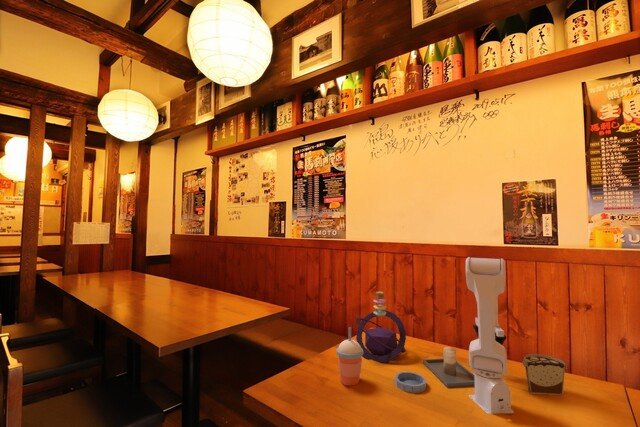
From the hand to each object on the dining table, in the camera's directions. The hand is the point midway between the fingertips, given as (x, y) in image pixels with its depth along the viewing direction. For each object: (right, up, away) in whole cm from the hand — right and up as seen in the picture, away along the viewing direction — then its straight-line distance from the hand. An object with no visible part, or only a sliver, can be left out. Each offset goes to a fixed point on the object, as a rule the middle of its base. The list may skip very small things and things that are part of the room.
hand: (489, 350), depth 108 cm
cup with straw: (-48, -10, -2) cm, 49 cm away
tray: (-12, -10, +2) cm, 16 cm away
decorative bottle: (-33, -10, +21) cm, 40 cm away
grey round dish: (-29, -9, -5) cm, 31 cm away
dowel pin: (-12, -9, +2) cm, 15 cm away
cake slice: (+13, -9, -7) cm, 17 cm away
